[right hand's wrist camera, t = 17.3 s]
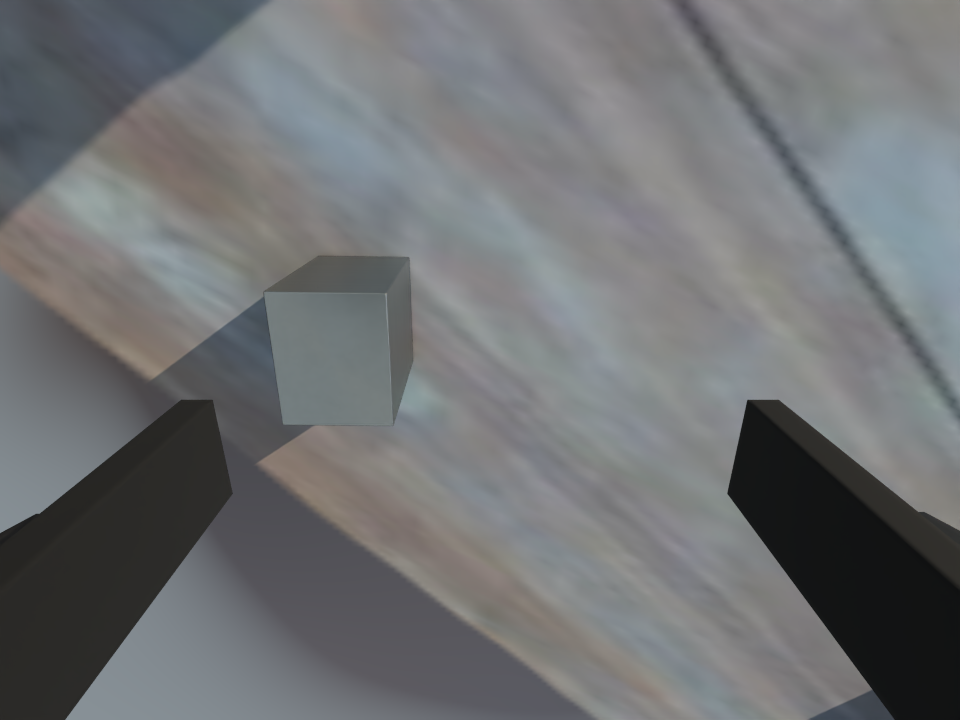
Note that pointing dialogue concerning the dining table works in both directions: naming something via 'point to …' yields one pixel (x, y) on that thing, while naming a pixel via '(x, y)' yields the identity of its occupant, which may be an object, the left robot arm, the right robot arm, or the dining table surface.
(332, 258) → the block
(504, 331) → the dining table surface
